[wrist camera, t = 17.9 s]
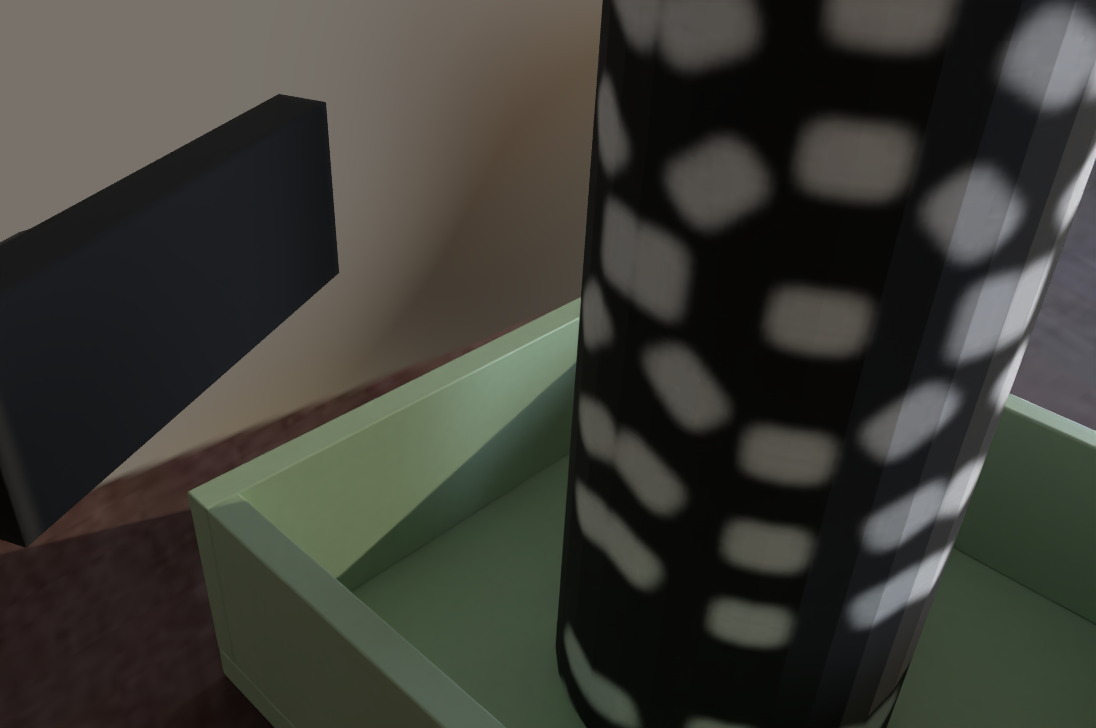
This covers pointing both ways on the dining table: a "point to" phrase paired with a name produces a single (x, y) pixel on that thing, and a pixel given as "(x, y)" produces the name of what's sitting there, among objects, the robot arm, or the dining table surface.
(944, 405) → the white-spotted black cylinder
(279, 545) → the bin
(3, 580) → the dining table surface
